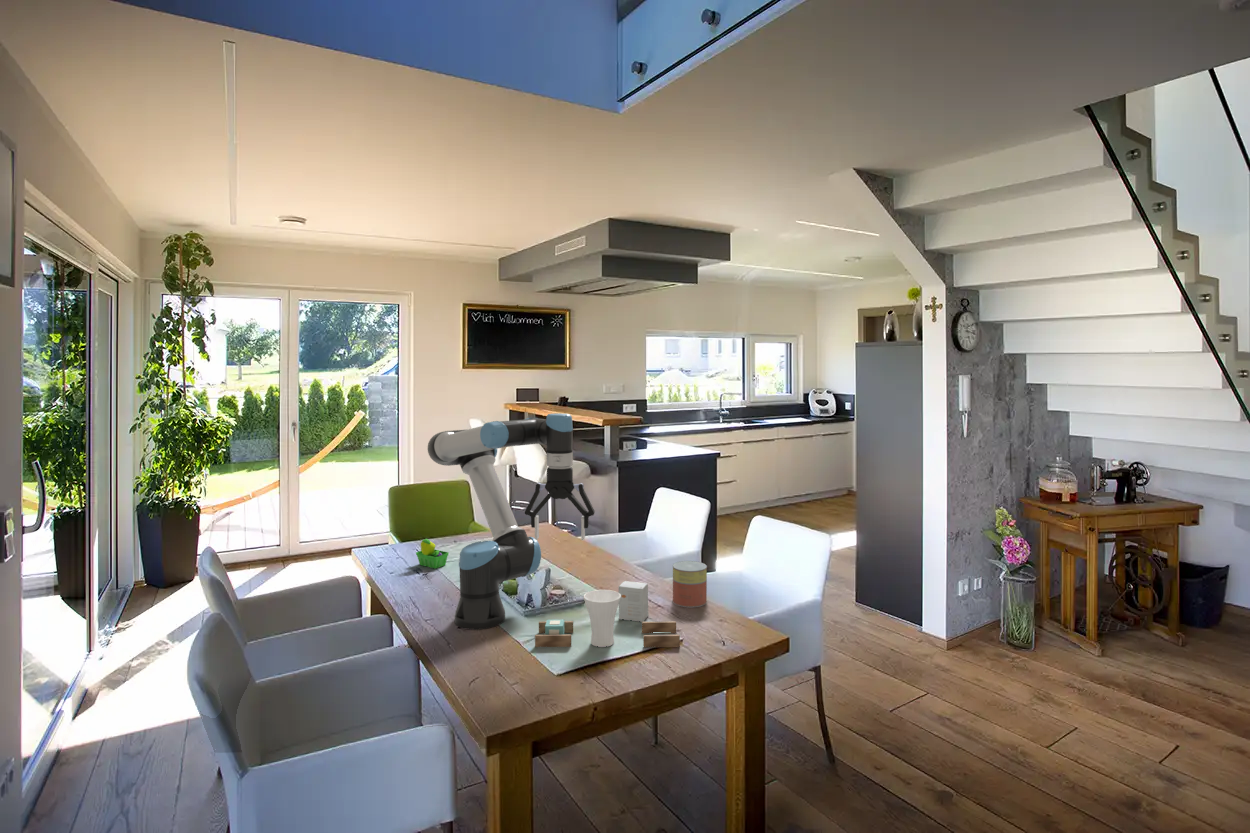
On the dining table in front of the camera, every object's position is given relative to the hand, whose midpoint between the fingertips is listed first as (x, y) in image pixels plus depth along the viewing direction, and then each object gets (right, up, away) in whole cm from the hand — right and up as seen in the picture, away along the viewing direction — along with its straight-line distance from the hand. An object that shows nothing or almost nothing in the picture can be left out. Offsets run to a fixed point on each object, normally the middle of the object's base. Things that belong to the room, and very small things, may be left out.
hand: (559, 538), depth 198 cm
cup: (+13, -28, -8) cm, 32 cm away
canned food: (+40, -25, +25) cm, 54 cm away
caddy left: (-1, -28, -6) cm, 28 cm away
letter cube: (-1, -28, -6) cm, 28 cm away
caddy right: (+29, -28, -6) cm, 41 cm away
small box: (+22, -27, +11) cm, 36 cm away
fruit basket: (-56, -23, +66) cm, 90 cm away
